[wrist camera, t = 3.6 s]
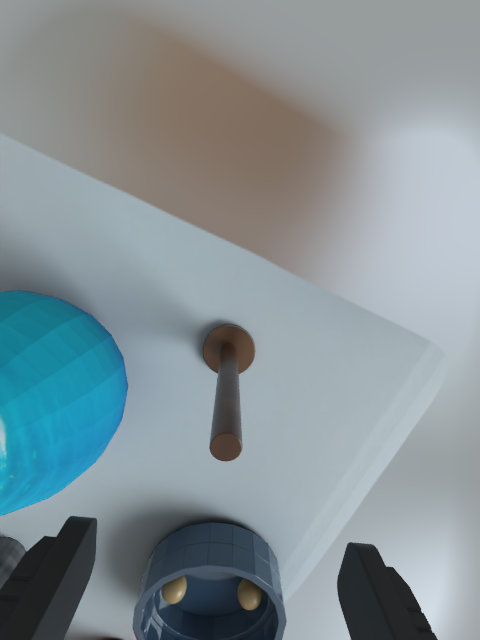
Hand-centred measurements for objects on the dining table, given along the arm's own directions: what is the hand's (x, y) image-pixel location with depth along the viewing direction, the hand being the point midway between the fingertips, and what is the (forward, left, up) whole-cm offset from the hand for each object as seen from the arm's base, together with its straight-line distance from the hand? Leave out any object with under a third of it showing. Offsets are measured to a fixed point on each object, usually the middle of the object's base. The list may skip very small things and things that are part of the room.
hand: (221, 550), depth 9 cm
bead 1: (+2, +28, -18) cm, 33 cm away
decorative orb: (+15, +3, -20) cm, 25 cm away
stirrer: (0, 0, -20) cm, 20 cm away
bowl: (-2, +28, -20) cm, 34 cm away
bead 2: (-6, +28, -18) cm, 34 cm away
